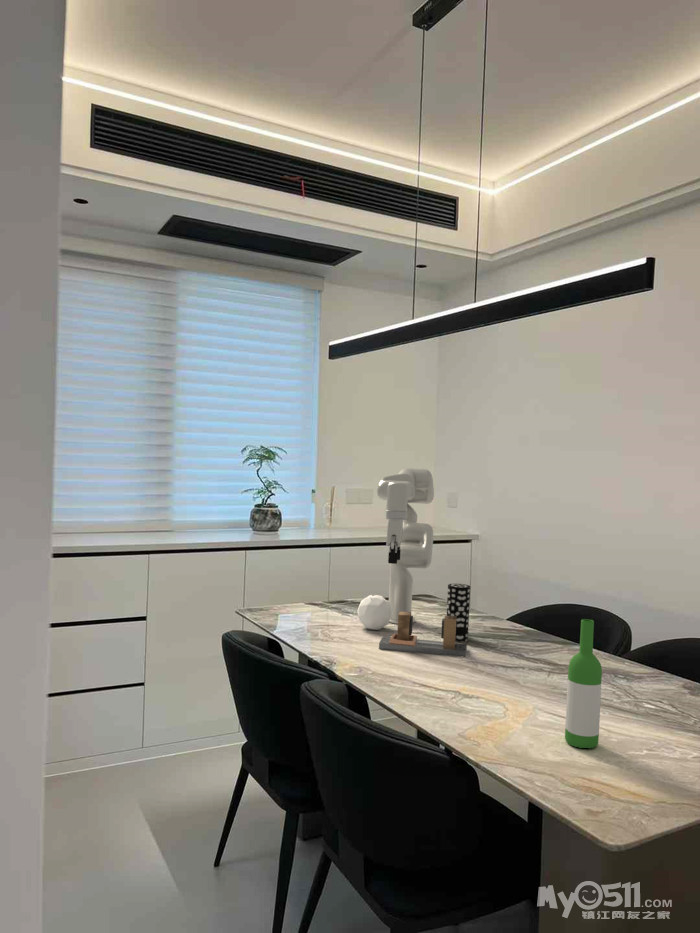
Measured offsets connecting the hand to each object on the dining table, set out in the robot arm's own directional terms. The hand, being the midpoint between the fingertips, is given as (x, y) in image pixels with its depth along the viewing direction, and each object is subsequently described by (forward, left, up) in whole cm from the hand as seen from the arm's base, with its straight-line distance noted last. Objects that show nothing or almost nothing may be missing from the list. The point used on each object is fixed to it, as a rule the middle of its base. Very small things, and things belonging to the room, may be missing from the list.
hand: (394, 561), depth 265 cm
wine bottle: (+84, +57, -28) cm, 105 cm away
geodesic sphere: (-11, -8, -28) cm, 32 cm away
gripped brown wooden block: (+12, +6, -26) cm, 29 cm away
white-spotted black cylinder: (-7, +24, -28) cm, 38 cm away
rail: (+12, +13, -28) cm, 33 cm away
